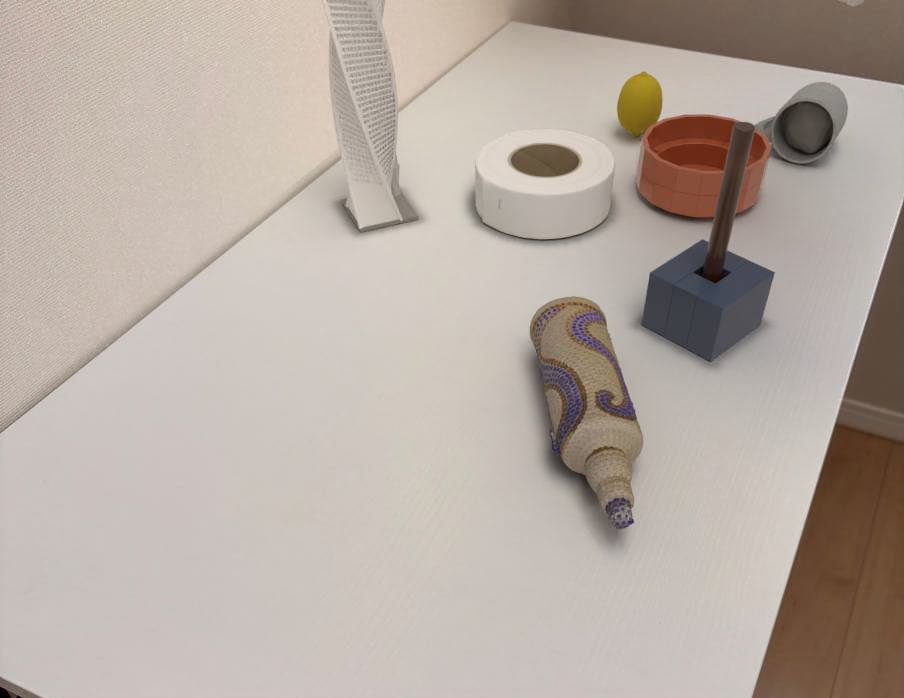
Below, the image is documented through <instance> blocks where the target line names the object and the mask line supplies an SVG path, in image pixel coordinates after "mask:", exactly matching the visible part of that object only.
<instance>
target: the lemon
mask: <svg viewBox="0 0 904 698" xmlns="http://www.w3.org/2000/svg"><path fill="white" fill-rule="evenodd" d="M663 101H664V100H663V89H662V86H661V84H660V83H659V81H658V80H657V79H656V77H655V76H653V75H651V74H649V73H648V72H647V71H644V70H643V71H641V72H640V73H637V74H634V75H632V76H631V77H629V78H628V79H627V80H626V81H625V82H624V84H623V85H622V87H621V90H620V92H619V95H618V100H617V104H616V112H617V113H616V114H617V118H618V122H619V124H620V126H621V127H622V128H623V129H624V131H626V132H628V133H629V134H631V135H632V136H633V138H638V137H639V136H641V135H642V134H644V133H645V132H646V130H647V129H648V127H649V126H651V125H653V124H655V123H657V122H659V119H660V117H661V114H662V110H663Z"/></svg>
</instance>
